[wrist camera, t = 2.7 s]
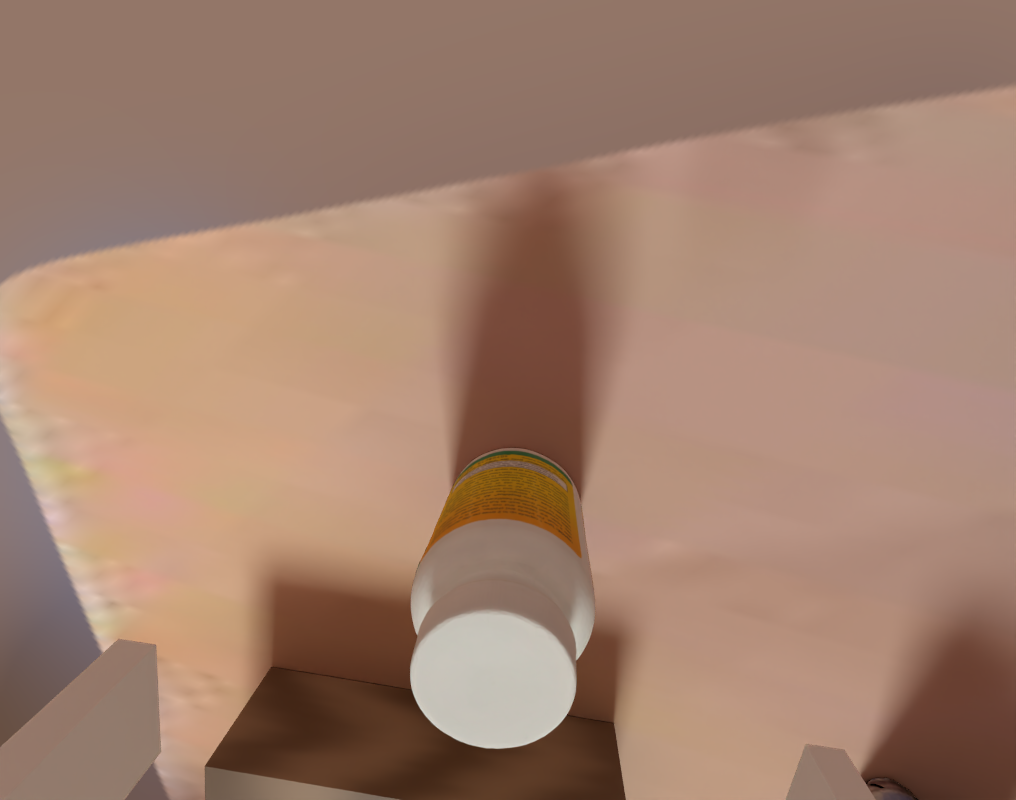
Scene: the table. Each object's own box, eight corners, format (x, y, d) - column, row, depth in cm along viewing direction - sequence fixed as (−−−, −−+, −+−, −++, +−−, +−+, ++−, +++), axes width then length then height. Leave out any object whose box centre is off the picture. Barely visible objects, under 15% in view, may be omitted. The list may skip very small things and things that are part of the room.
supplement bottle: (598, 540, 22) (639, 745, 13) (479, 578, 23) (435, 796, 13) (552, 424, 21) (560, 555, 11) (429, 468, 22) (343, 624, 12)
